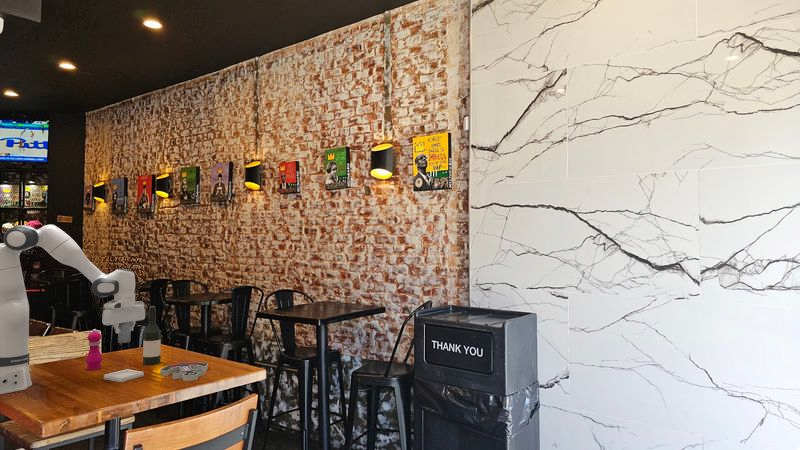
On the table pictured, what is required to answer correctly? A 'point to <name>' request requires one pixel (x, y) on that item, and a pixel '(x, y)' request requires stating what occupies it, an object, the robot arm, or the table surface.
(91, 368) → the pepper mill
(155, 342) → the wine bottle
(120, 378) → the serving tray
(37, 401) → the table surface
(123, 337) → the grey cylinder
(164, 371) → the decorative sign
